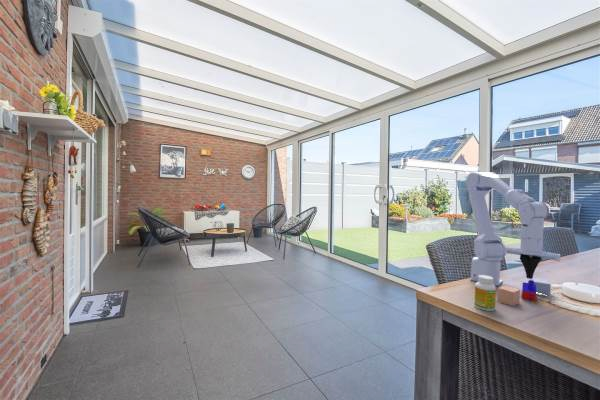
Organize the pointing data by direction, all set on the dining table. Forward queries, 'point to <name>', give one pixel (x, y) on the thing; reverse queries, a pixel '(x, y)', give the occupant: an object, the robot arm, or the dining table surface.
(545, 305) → the dining table surface
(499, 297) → the terracotta block
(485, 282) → the supplement bottle
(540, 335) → the dining table surface
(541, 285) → the slate blue block
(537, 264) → the robot arm
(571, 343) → the dining table surface
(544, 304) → the dining table surface
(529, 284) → the toy building block
